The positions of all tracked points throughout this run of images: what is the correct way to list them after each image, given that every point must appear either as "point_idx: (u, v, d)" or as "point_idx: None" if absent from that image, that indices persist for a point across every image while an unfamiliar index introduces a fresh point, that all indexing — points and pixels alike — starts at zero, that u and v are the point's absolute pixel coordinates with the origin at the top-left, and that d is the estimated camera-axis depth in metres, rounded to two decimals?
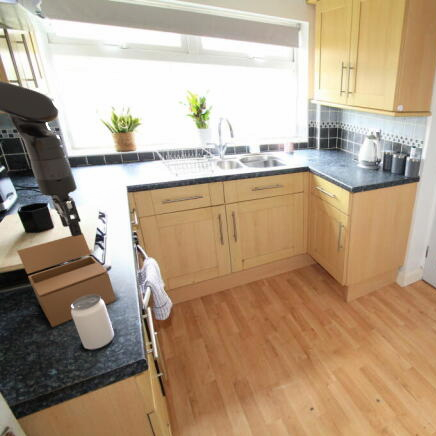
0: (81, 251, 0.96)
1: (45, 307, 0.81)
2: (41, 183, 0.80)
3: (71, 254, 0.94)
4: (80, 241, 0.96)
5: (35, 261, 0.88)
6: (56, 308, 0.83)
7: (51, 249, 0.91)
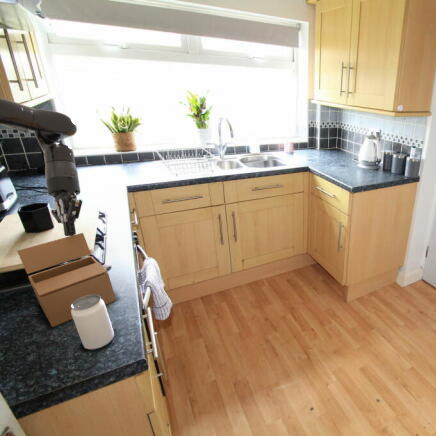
0: (81, 251, 0.96)
1: (45, 307, 0.81)
2: (53, 180, 0.91)
3: (71, 254, 0.94)
4: (80, 241, 0.96)
5: (35, 261, 0.88)
6: (56, 308, 0.83)
7: (51, 249, 0.91)
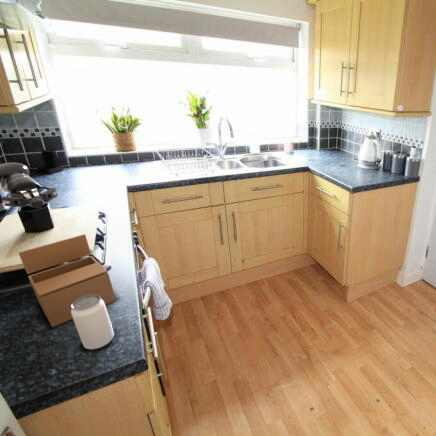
0: (82, 252, 0.95)
1: (45, 307, 0.81)
2: None
3: (72, 255, 0.94)
4: (82, 242, 0.95)
5: (36, 262, 0.88)
6: (56, 308, 0.83)
7: (52, 251, 0.90)
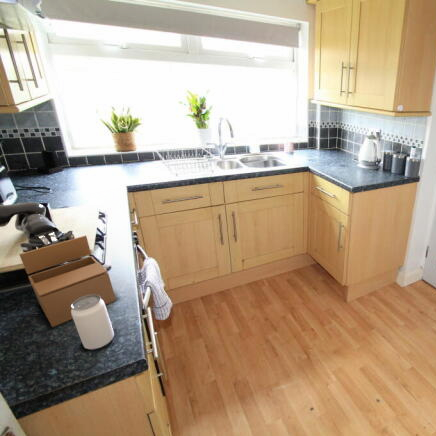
0: (82, 252, 0.95)
1: (45, 307, 0.81)
2: None
3: (72, 255, 0.94)
4: (82, 243, 0.94)
5: (36, 263, 0.87)
6: (56, 308, 0.83)
7: (53, 252, 0.89)
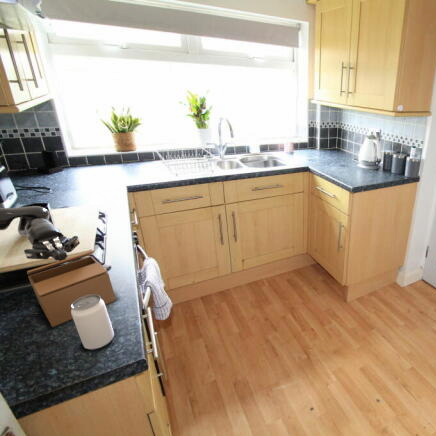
0: (84, 256, 0.95)
1: (45, 307, 0.81)
2: None
3: (74, 259, 0.93)
4: (88, 254, 0.93)
5: (40, 270, 0.87)
6: (56, 308, 0.83)
7: (59, 263, 0.89)
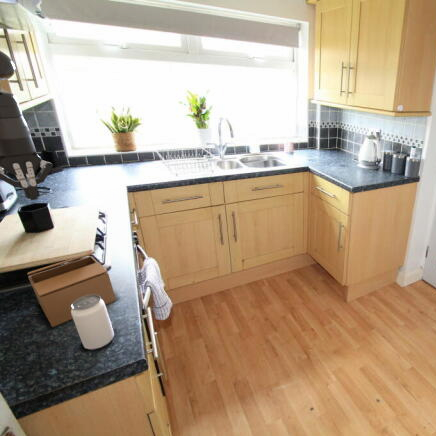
0: None
1: (45, 307, 0.81)
2: None
3: (74, 259, 0.93)
4: (88, 255, 0.93)
5: (40, 270, 0.87)
6: (56, 308, 0.83)
7: (59, 264, 0.89)
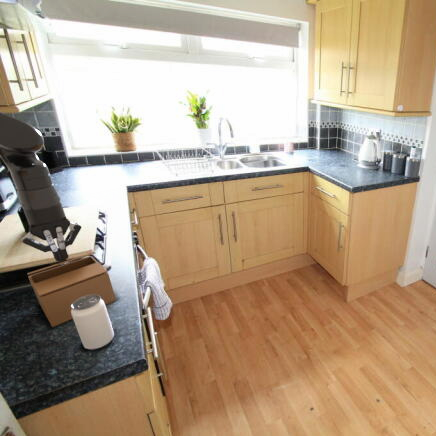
0: None
1: (45, 307, 0.81)
2: None
3: None
4: None
5: None
6: (56, 308, 0.83)
7: None
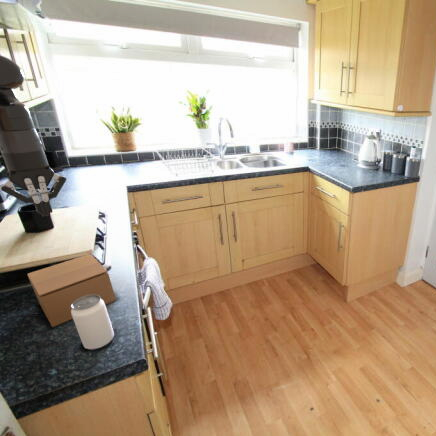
0: None
1: (45, 307, 0.81)
2: None
3: None
4: None
5: None
6: (56, 308, 0.83)
7: None
